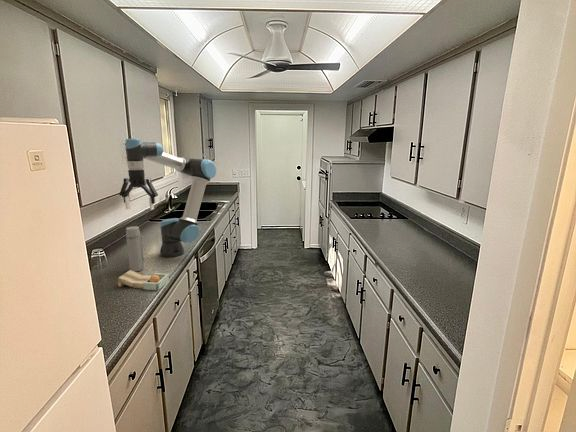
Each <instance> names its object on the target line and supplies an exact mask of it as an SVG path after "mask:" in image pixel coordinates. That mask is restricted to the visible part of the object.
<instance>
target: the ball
mask: <svg viewBox="0 0 576 432" xmlns="http://www.w3.org/2000/svg"><path fill="white" fill-rule="evenodd" d="M149 281H150V282H152V283H157V282H158V281H160V278H159V276H157V275H154V274H152V275H151V277H150V279H149Z"/></svg>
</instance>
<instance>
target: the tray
mask: <svg viewBox="0 0 576 432" xmlns="http://www.w3.org/2000/svg"><path fill="white" fill-rule="evenodd" d="M153 275H157V276H159V278H160V281H158V282H157V283H152V282H143V288H142V289H143V290H148V291H150V290H151V291H159V290H161V288H162V287H164V286H165V285H166V284H167V283H168V282H169V281H170V273H158V272H157V273H156V272H155V273H154V274H153Z"/></svg>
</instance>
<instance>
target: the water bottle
mask: <svg viewBox="0 0 576 432" xmlns="http://www.w3.org/2000/svg"><path fill="white" fill-rule="evenodd" d="M125 238H126V245H127V254H128V262H129V265H128V266H129V270H132V271H134V272H137V273H138V272H141V271H142V270H143V269H144V262H147V261H146V260H147V259H144V257H143V256H144V255H145V257H147V254H146V250H145V246H144V244H142V243H144V241H143V235H142V234H141V231H140V227H139V226H137V225H136V226H128V227H126V228H125Z"/></svg>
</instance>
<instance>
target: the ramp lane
mask: <svg viewBox="0 0 576 432" xmlns="http://www.w3.org/2000/svg"><path fill="white" fill-rule="evenodd" d="M151 276H152V275H149V274H148V275H146V274H142V273H140V272H138V271H137V272H134V271H132V270H130V269H129V270H127V272H125V273H123V274H122V275H120V276H119V277H118V278H117V287H119V288H122V287H123V286H124V285H125V286H128V287H131V288H135V289H143V282H150V281H149V279H150V277H151Z"/></svg>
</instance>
